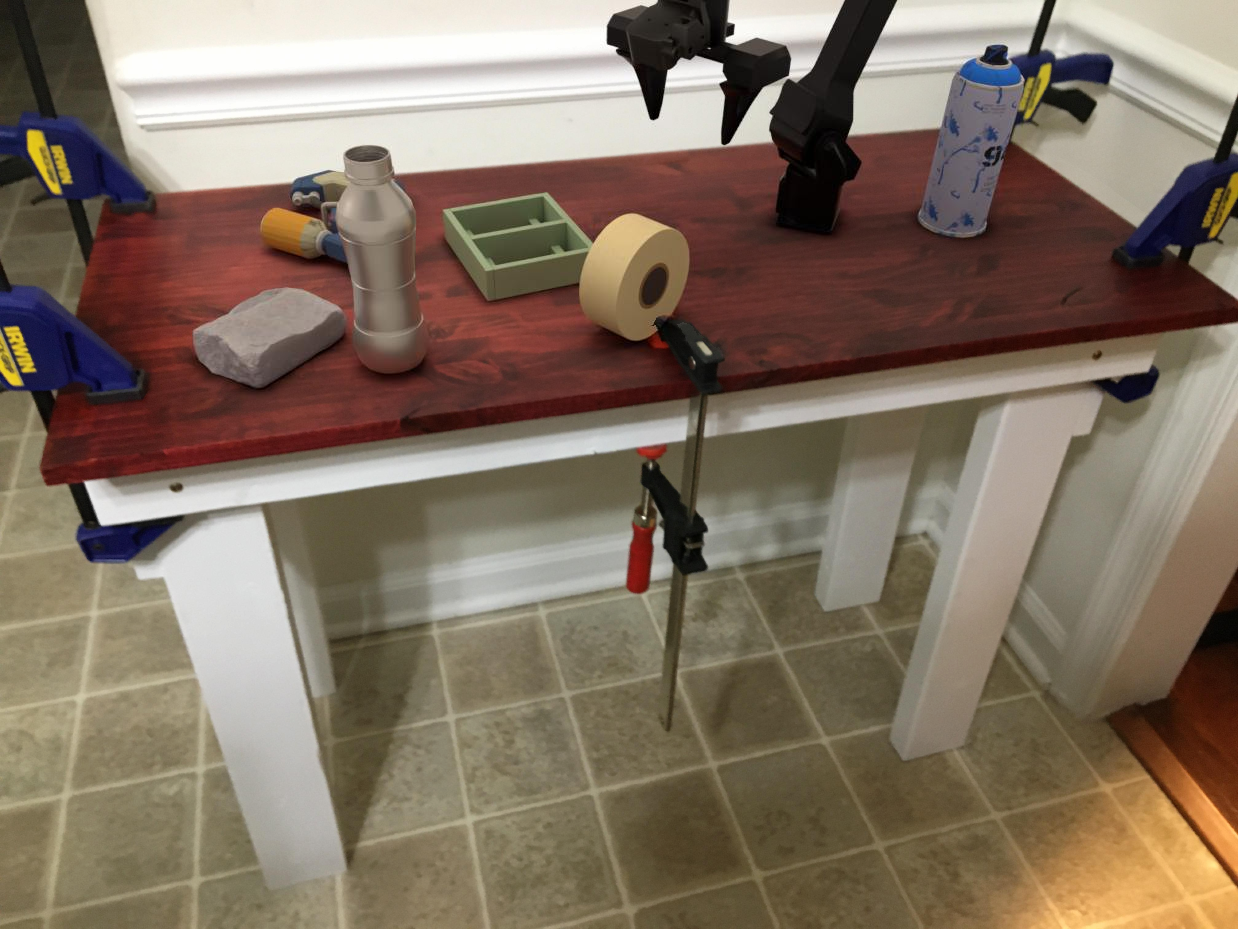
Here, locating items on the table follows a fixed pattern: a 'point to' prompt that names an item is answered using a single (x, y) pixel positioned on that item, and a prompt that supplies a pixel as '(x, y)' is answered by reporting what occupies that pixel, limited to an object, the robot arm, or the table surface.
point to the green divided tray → (517, 245)
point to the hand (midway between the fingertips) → (689, 131)
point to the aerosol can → (972, 144)
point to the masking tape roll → (633, 275)
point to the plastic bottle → (381, 262)
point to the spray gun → (309, 218)
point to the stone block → (268, 335)
